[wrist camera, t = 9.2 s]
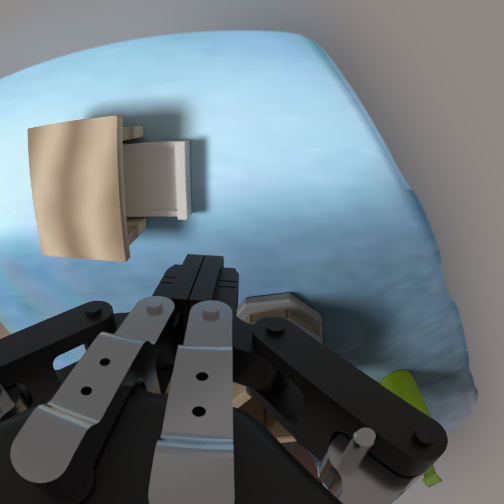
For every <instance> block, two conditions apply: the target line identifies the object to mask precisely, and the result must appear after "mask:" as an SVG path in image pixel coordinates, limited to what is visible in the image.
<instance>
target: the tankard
mask: <svg viewBox="0 0 504 504" xmlns="http://www.w3.org/2000/svg"><path fill="white" fill-rule="evenodd" d="M237 317H238V318H240V319H241V320H242V321H244V322H247V323H250V324H253V325H254V324H255V323H256V322H257V321H258V320H260V319H262V318H266V317H280V318H284V319H287V320H289V321H291V322H292V323H294V324H295V325H296V326H298V327H299V328H301V329H302V330H303V331H305V332H306V333H308V334H309V335H310V336H312V337H313V338H315V339H316V340H317V341H319V342H320V343H322V319H321V315H320V313H318V312H317V311H315V310H314V309H312V308H311V307H309V306H308V305H306V304H305V303H303V302H302V301H300V300H299V299H297V298H296V297H294V296H293V295H291V294H290V293H284V294H276V295H267V296H258V297H249V298H245V299H244V300H243V302H242V303H241V304H240V305H239V306H238V308H237ZM233 407H235V408H238V409H240V410H242V411H244V412H246V413H248V414H250V415H251V416H253V417H254V418H256V419H257V420H258V421H259V422H261V423H262V424H263V425H264V426H265V427H266V428H267V429H268V430H269V431H270V432H271V433H272V435H273V436H274V437H275V438H276V439H277V440H278V441H279V442H280V443H284V442H294V441H297V439H296V438H295V437H294V436H292V435H291V434H290V433H289V432H288V431H287V430H286V429H285V428H284V427H283V426H282V425H281V424H280V423H279V422H278V421H277V420H275V419H274V418H273V417H272V416H271V415H270V414H269V413H268V412H267V411H266V410H265V409H264V408H263V407H262V406H261V405H260V404H259V403H258V402H257V401H256V400H255V399H254V398H253V397H252V396H251V394H250V392H249V387H247V386H243V385H240V384H237V383H234V382H233Z"/></svg>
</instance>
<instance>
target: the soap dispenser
mask: <svg viewBox="0 0 504 504" xmlns="http://www.w3.org/2000/svg"><path fill="white" fill-rule="evenodd" d="M381 385H382V386H384V387H385V388H387V389H388V390H390V391H391V392H393V393H394V394H396V395H397V396H399V397H400V398H402V399H403V400H405V401H406V402H408V403H409V404H411V405H412V406H414V407H415V408H417V409H418V410H420V411H421V412H423V413H424V414H426V415H427V416H429V417H430V414H429V412H428V410H427V407H426V405H425V403H424V401H423V398H422V396H421V394H420V392H419V389H418V387H417V385H416V383H415V381H414V379H413V376H412V374H411V373H410V372H409V371H407V370H399V371H395V372H393V373H391V374H389V375H388V376H387V377H385V378H384V379H383V380H382V382H381ZM430 418H431V417H430ZM423 475H424V479H423V482H424V483H425V485H427V486H428V487H431V486H433V485H435V484H437V483H439V482H441V481H442V480H441V478H439V476H438V475H437V474H436V472H435V469H434V466H433V465H432V466H431V467H430V468H429V469H428V470H427V471H426V472H425V473H424V474H423Z"/></svg>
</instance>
